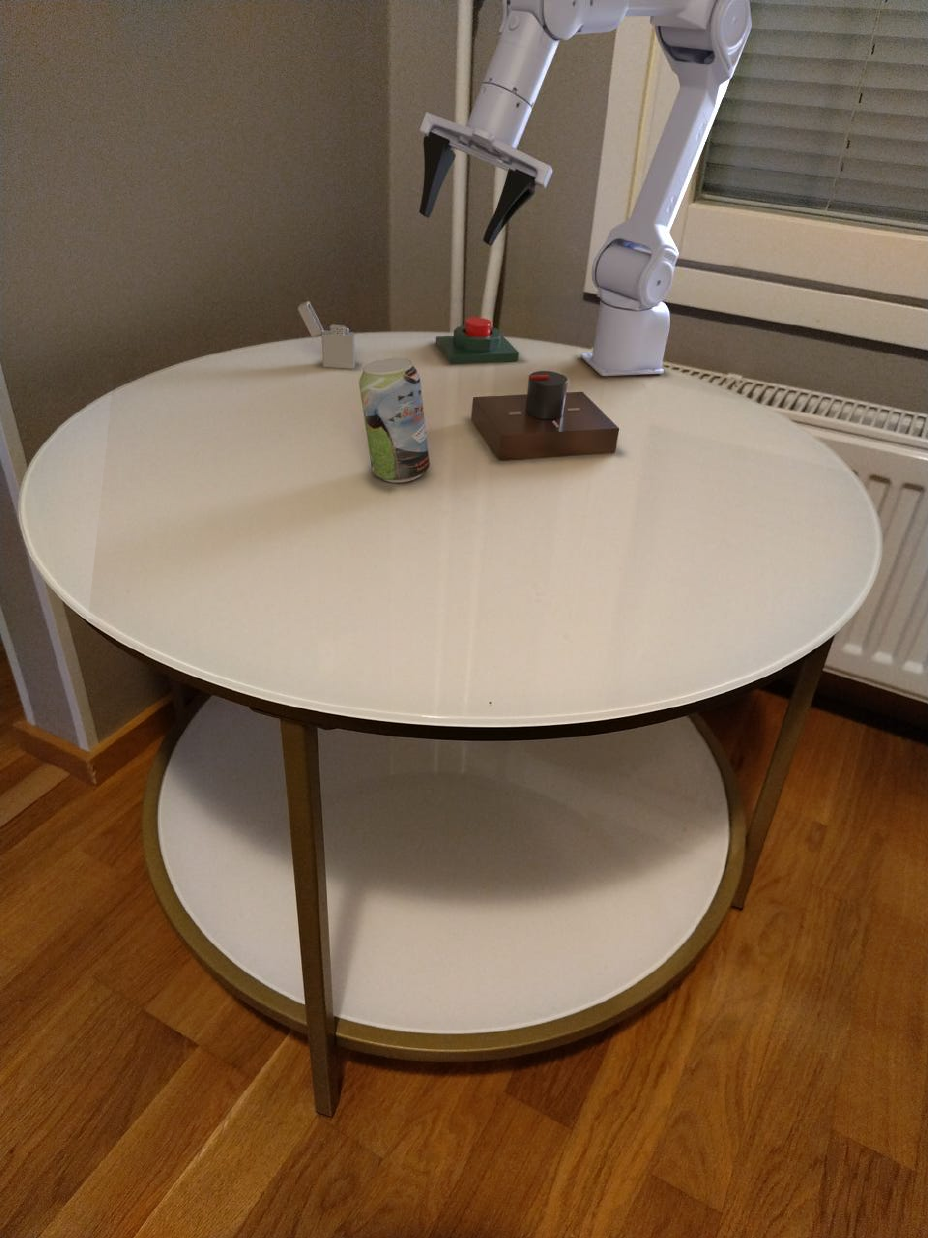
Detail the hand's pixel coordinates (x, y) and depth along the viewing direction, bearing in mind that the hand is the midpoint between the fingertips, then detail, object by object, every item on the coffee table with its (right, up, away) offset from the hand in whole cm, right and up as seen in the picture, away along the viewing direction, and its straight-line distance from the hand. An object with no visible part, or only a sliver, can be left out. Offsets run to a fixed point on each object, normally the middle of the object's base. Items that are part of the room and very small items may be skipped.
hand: (455, 228), depth 93 cm
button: (+3, -2, +28) cm, 28 cm away
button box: (+3, -4, +29) cm, 30 cm away
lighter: (-17, -8, +22) cm, 29 cm away
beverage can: (-6, -27, -3) cm, 28 cm away
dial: (+10, -19, +5) cm, 22 cm away
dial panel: (+10, -21, +7) cm, 24 cm away
